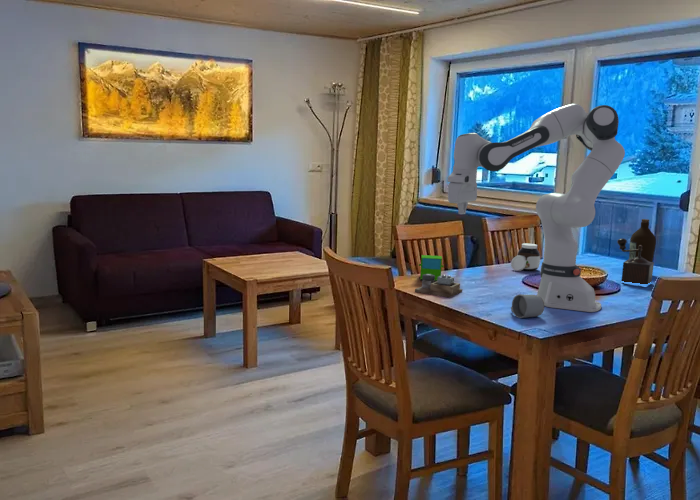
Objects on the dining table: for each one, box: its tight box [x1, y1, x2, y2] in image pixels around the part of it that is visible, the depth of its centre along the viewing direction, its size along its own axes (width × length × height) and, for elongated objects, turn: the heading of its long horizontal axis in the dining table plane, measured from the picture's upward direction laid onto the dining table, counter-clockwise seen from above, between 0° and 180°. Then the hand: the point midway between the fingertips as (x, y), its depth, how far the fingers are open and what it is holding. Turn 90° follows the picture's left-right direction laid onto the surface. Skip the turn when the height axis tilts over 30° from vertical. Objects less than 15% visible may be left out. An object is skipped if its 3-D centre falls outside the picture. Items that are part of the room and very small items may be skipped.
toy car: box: [418, 254, 444, 282], centre depth 261 cm, size 10×13×10 cm
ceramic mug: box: [510, 293, 545, 319], centre depth 210 cm, size 11×8×8 cm
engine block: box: [436, 274, 455, 286], centre depth 238 cm, size 5×4×6 cm
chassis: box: [414, 280, 463, 298], centre depth 239 cm, size 14×12×4 cm
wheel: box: [422, 274, 436, 282], centre depth 241 cm, size 5×5×5 cm
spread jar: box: [510, 242, 541, 272], centre depth 288 cm, size 12×11×12 cm
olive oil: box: [628, 218, 657, 262], centre depth 287 cm, size 11×11×25 cm
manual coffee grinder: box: [617, 238, 655, 284], centre depth 268 cm, size 16×11×18 cm
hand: (461, 214), depth 239 cm, fingers closed
